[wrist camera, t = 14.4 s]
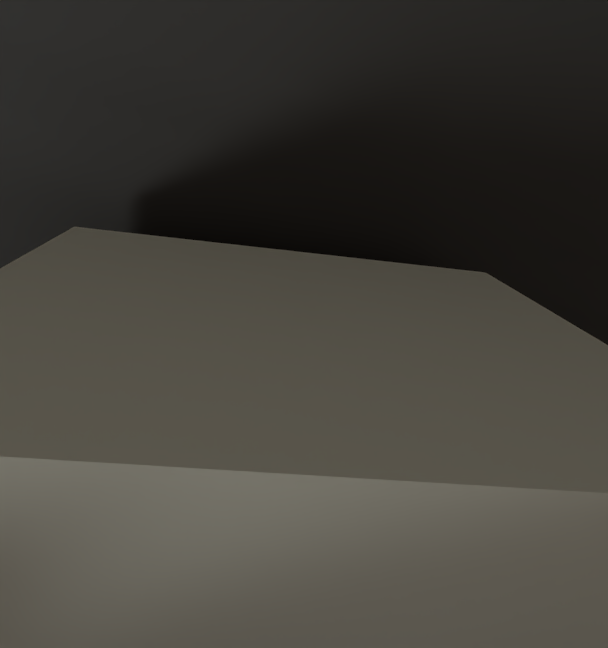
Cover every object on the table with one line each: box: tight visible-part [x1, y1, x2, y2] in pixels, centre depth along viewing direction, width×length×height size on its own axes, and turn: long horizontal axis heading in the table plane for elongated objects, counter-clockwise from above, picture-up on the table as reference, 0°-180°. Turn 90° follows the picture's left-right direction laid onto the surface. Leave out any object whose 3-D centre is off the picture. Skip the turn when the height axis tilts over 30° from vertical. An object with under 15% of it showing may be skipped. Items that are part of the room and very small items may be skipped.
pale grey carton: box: [0, 227, 608, 648], centre depth 7 cm, size 6×8×6 cm
